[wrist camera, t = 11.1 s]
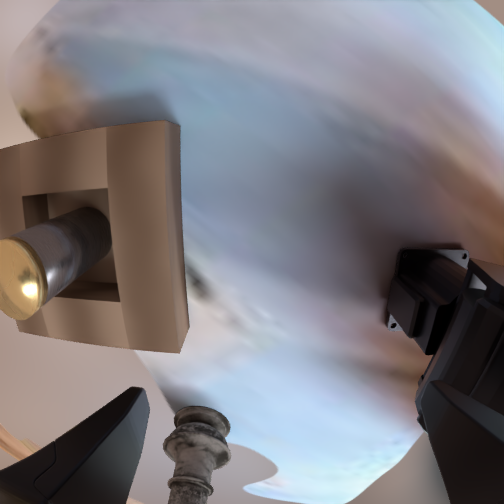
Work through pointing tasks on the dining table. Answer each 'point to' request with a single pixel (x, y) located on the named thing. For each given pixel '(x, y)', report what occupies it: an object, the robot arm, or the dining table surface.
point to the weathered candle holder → (196, 453)
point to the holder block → (122, 231)
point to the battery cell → (50, 259)
